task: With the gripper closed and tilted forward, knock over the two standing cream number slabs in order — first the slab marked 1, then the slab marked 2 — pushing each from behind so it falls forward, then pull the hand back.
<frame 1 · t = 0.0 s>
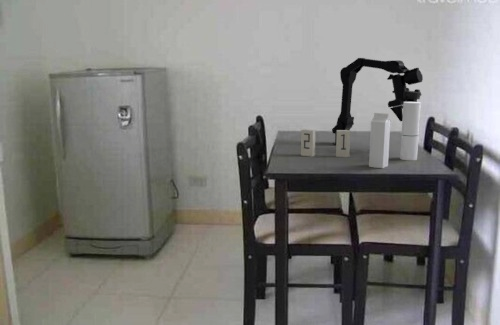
hand: (405, 120, 219), 15 cm above the table, tool pointing down, fingers open, 9 cm apart
milk: (378, 166, 194), on the table
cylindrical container: (408, 159, 208), on the table
tile two: (307, 155, 217), on the table
tile one: (342, 156, 214), on the table
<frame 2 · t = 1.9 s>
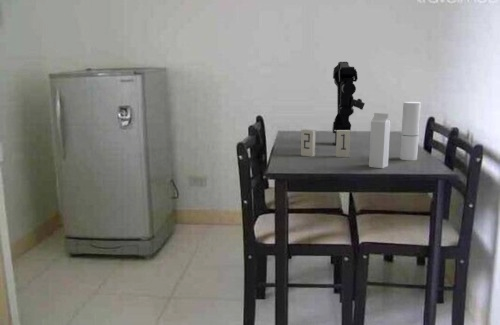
hand: (345, 126, 224), 12 cm above the table, tool pointing down, fingers open, 3 cm apart
nothing on the table moved.
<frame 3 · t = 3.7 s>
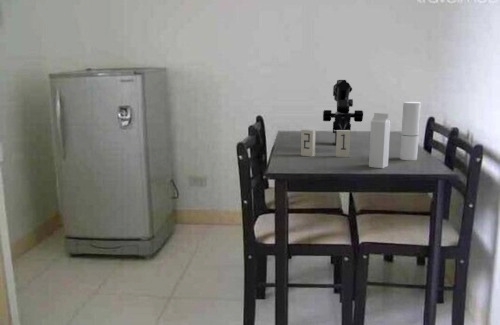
hand: (342, 129, 220), 11 cm above the table, tool tilted 45°, fingers closed
nothing on the table moved.
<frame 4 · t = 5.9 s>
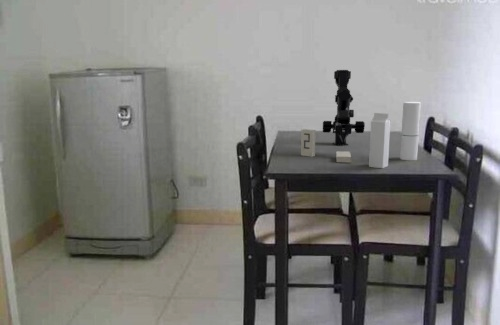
hand: (343, 141, 211), 7 cm above the table, tool tilted 45°, fingers closed
tile one: (342, 154, 213), point 1 cm above the table, tilted 90°
everything else where it was.
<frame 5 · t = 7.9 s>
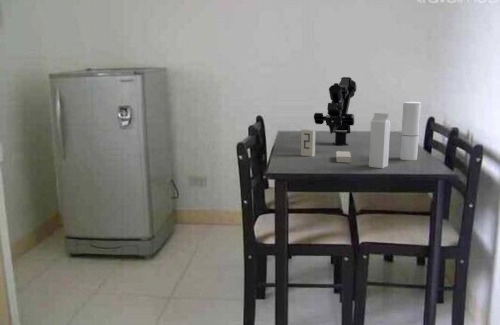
hand: (331, 133, 219), 10 cm above the table, tool tilted 45°, fingers closed
nothing on the table moved.
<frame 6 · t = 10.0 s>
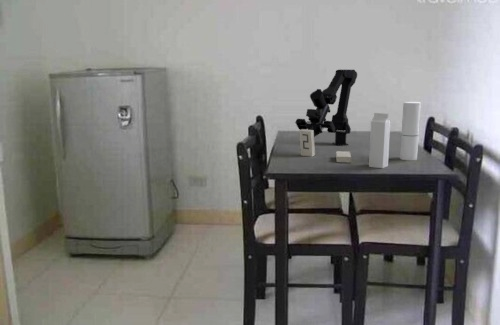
hand: (308, 139, 216), 7 cm above the table, tool tilted 45°, fingers closed
tile two: (307, 155, 217), on the table, tilted 9°
everything else where it was.
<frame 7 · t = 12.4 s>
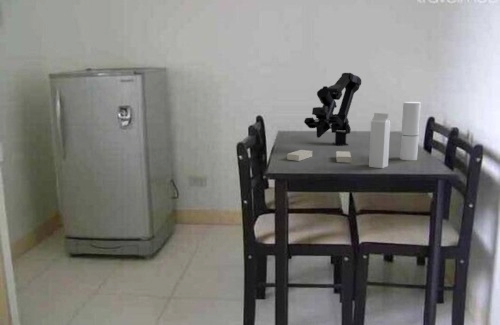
hand: (317, 137, 221), 8 cm above the table, tool tilted 40°, fingers closed
tile two: (306, 153, 216), point 1 cm above the table, tilted 90°
everything else where it was.
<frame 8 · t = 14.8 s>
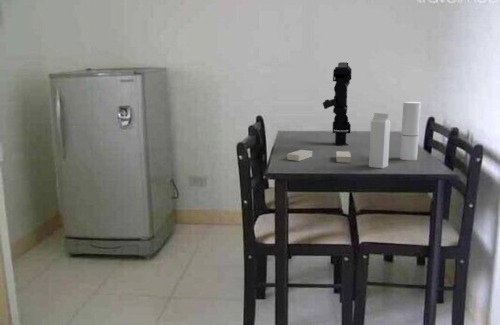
hand: (340, 126, 226), 12 cm above the table, tool pointing down, fingers closed
nothing on the table moved.
at the end: tile one tilted 90°; tile two tilted 90° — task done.
